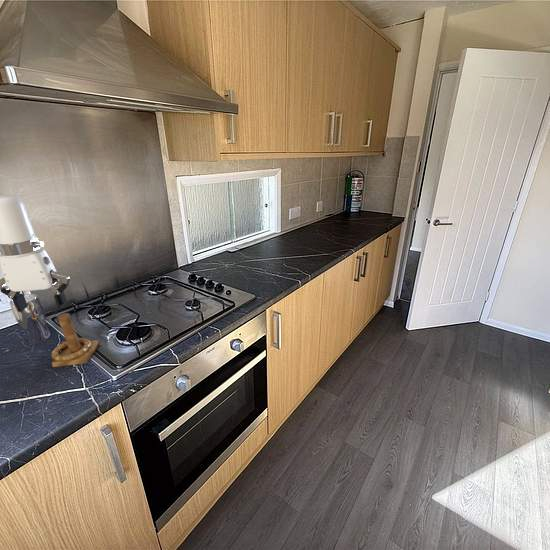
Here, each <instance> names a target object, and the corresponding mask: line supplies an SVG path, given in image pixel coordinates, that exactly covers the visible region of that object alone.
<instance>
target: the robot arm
mask: <svg viewBox="0 0 550 550" xmlns="http://www.w3.org/2000/svg"><path fill="white" fill-rule="evenodd" d="M38 239H39V238H37V236H36V233H35V230H34V227H33V224H32V221H31V218H30V216H29V213H28V210H27V208H26V205H25V202H24V200H23V198H21V197H20V196H19V195H16V194H0V268H1V272H2V275H3V277H1V278H0V292H1V294H3V295H6V296H7V298H8V299H10V300H13V302H14V305H15V307H16V308H17V311H18V312H22V311H23V310H24V309H25V308H27V307H28V305H27V302H26V300H25V297H24V295H25V294H23V293H22V292H32V291H43V290H45V291H46V290H48V291H50V292H52V293H53V294H54V295H53V298H54V301H55V303H56V306H57V309H62V308H63V307H65V305H66V304H67V301H68V300H67V297H66V294H65V291H66V289H67V287H68V286H69V283H70V280H71V276H70V275H67V274H65V273H61V272H58V271H57V268H56V267H55V264H54V263H53V260H52V259H51V257H50V255H49V254H48V253H47V251H46V249H45V248H42V247H44V246H45V243H44V241H40V240H38ZM60 281H61V284H60V283H59V282H60Z"/></svg>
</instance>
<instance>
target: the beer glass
mask: <svg viewBox="0 0 550 550" xmlns="http://www.w3.org/2000/svg"><path fill="white" fill-rule="evenodd" d="M23 295H24V297H25V300H26V302H27V305H28V307H27V308H25V309H24V310H23V311H22V312H18V311H17V308H16V307H15V305H14V302H13V300H12V299H10V301H9V305H10V308H11V312H12V314H13V317H14V319H15V321H16V323H18V325H19V326H20V328H21V329H22V330H23V331H24V333H25V335H26V337H27V342H28V344H29V345H39V344H42V343H44V342H47V341H48V340H50V339H51V338H52V333H51V332H50V330H49V329H48V326H47V320H46V313H45V309H44V307H43V304H42V302H41V300H40V299H39V297H38V295H37V294H36V293H35V294H34V293H29V294H23Z"/></svg>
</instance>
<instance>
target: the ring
mask: <svg viewBox="0 0 550 550" xmlns="http://www.w3.org/2000/svg"><path fill="white" fill-rule="evenodd" d="M78 340H79V343H82V344H84V347H83V348H82V349H80V350H79V351H77V352H75V353H72V354H69V355H59V353H60V352H61V350H62V349H64V348H66V347H67V346H68V345H67V342H66V340H65V341H64V342H61V343H60V344H58V345H56V346H55V347H54V349H53V350H52V351H51V354H50V355H51V359H52V360H57V361H69V360H72V359H75V358H78V357H80V356H81V355H83V354H84V353H86V352H87V351H88V350H89V348H90V347H91V342H90V341H91V340H90V339H89V338H86V337H78Z"/></svg>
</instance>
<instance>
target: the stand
mask: <svg viewBox="0 0 550 550" xmlns="http://www.w3.org/2000/svg"><path fill="white" fill-rule="evenodd" d="M57 321H58V323H59V326H60V329H61V331H62V334H63V336H64V339H65V341H66V342H67V345H68V346H67V347H66V348H64V349H62V350H61V351H60V352H59V355H69V354H72V353H75V352H77V351H79V350H80V349H82V348H83V347H84V344H82V343H79V340H78V338H79V336H78V334H77V332H76V329H75V326H74V323H73V321H72V317H71V315H70V313H69V312H68V313H67V312H65V313H61V314H58V315H57ZM90 342H91V347H90V348H89V350H88V351H87V352H86V353H84V354H83V355H81V356H80V357H78V358H75V359H72V360H69V361H57V360H54V359H52V362H51V365H52V368H57V367H65V366H73V365H82V364H89V362H90V360H91V358H92V357H93V355H94V354H95V352H96V350H97V349H98V348H99V346H100V344H99V343H100V340H99V339H95V340H90ZM93 353H94V354H93ZM92 354H93V355H92ZM91 356H92V357H91Z"/></svg>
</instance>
